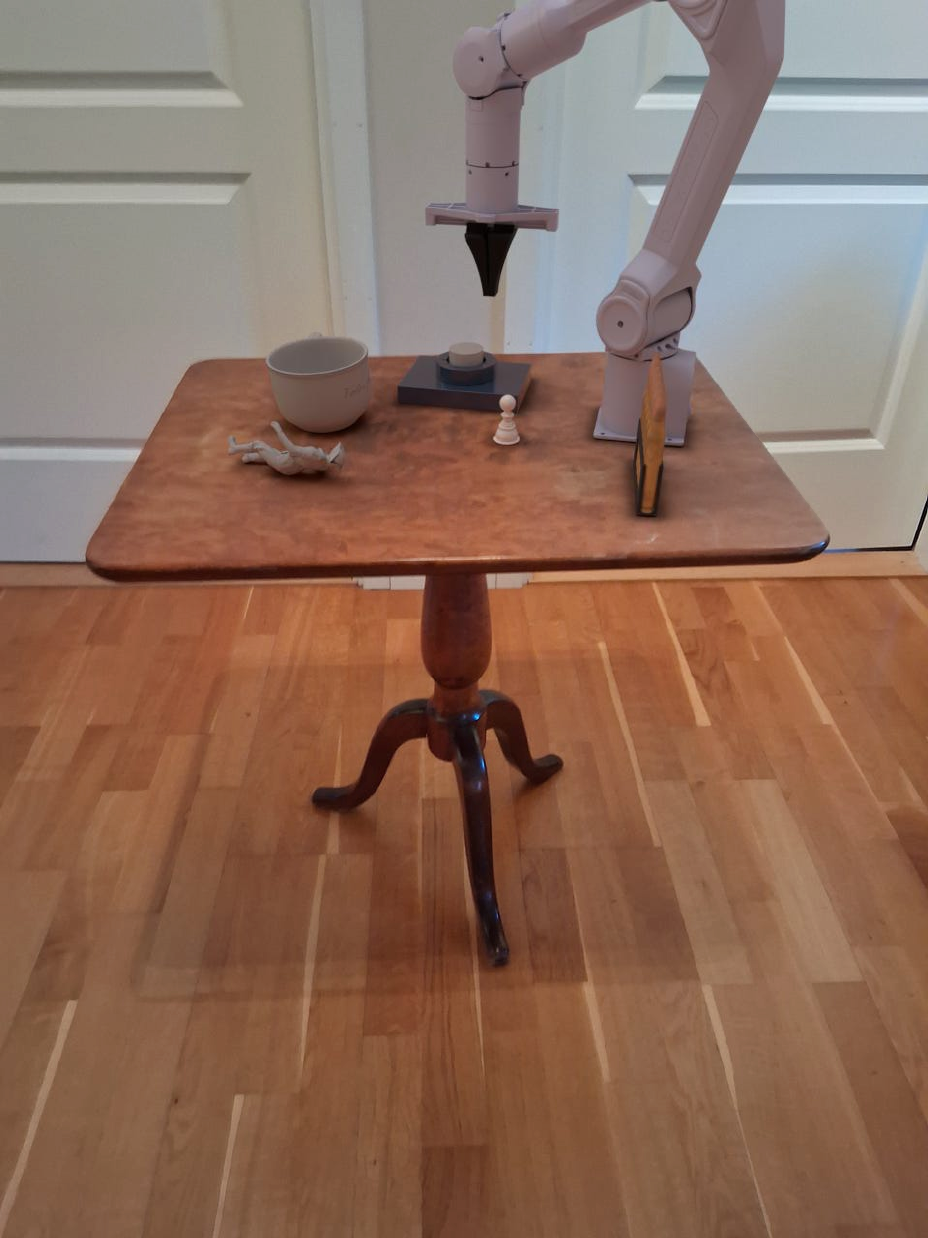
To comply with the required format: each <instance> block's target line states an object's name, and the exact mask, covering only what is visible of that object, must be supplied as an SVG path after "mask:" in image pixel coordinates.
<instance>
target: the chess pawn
mask: <svg viewBox="0 0 928 1238" xmlns="http://www.w3.org/2000/svg"><path fill="white" fill-rule="evenodd" d="M499 404H500V407H501V409H502V410H504V412H500V417H502V419H501V420H500V422H499V423H498V427H497V429H496V430H495V433H494V436H493V438H492V439H493V441H494V442H495V443H497V444H498V445H501V446H513V445H516V444H517V443H519V442H520V441H521V438H520V437H521V436H520V435H519V432H518V430H517V428H516V424H515V422H514V420H513V418H514V416H515V413H512V412H511V411H512V410H513V409H514V408H515V405H516V401H515V398H514V397H513V396H511V395H504V396H503V397H502V398H501V399H500V402H499Z"/></svg>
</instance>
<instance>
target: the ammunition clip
mask: <svg viewBox="0 0 928 1238" xmlns="http://www.w3.org/2000/svg"><path fill="white" fill-rule="evenodd" d="M666 410H667V401H666V393H665V386H664V379H663V372H662V365H661V358H660V354H659V352H656V354H655V355H654V357H653V360H652V362H651V365H650V369H649V374H648V381H647V385H646V390H645V393H644V396H643V403H642V411H641V418H639V422H638V429H637V437H636V442H635V447H634V454H633V462H632V470H633V483H634V484H633V486H634V487H633V488H634V502H635V503H634V504H635V515H636V516H647V517H657V514H658V508H659V500H660V494H661V487H662V480H663V473H664V472H663V471H664V460H663V459H664V453H665V452H664V451H665V446H666V445H665V423H666Z"/></svg>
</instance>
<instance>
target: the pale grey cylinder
mask: <svg viewBox="0 0 928 1238" xmlns="http://www.w3.org/2000/svg"><path fill="white" fill-rule="evenodd" d="M484 349H485V348H484V346H483V345H481V344H479V343H477V342H469V341H462V342H456V343H453V344H450V345H449V347H448V351H449V364H451V365H454V366H462V367H472V366H478V365H481V364H483V352H485V351H484Z"/></svg>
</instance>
